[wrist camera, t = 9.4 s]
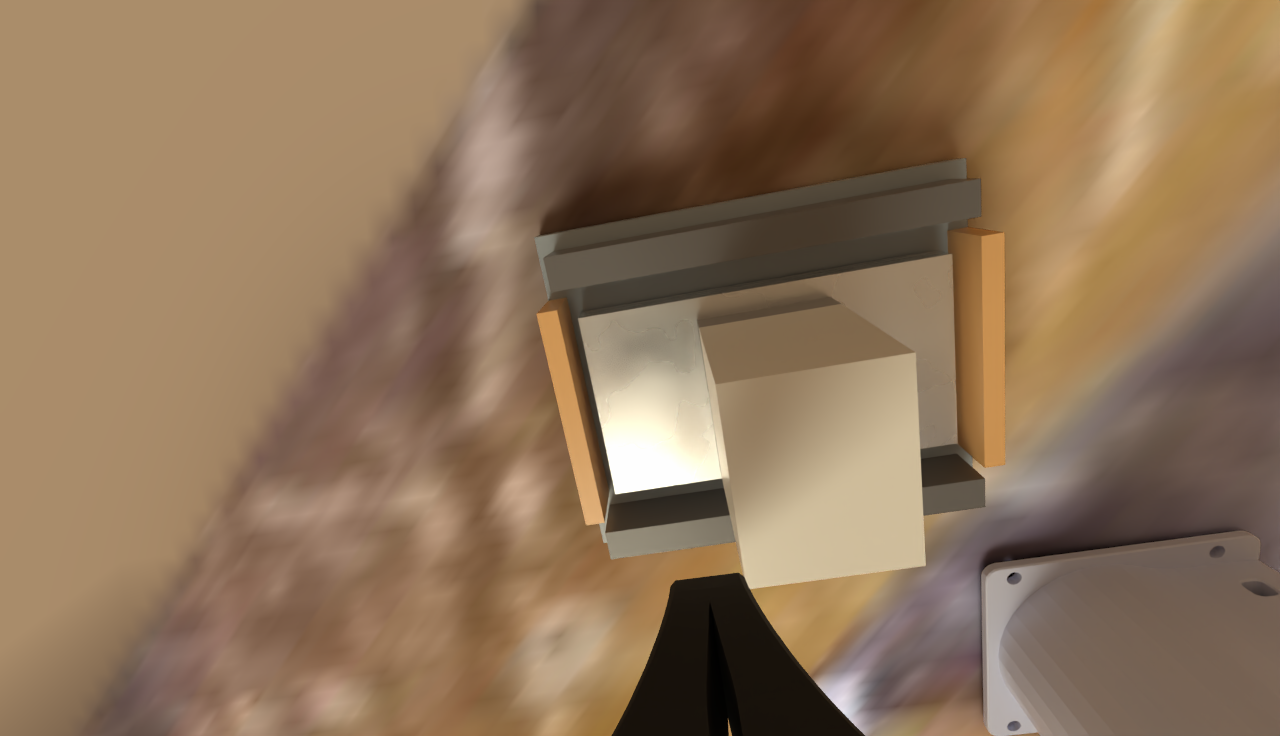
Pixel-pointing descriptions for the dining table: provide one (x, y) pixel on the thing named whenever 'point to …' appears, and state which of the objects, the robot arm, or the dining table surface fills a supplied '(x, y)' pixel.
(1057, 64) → the dining table surface
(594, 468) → the rail panel
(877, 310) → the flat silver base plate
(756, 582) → the block
